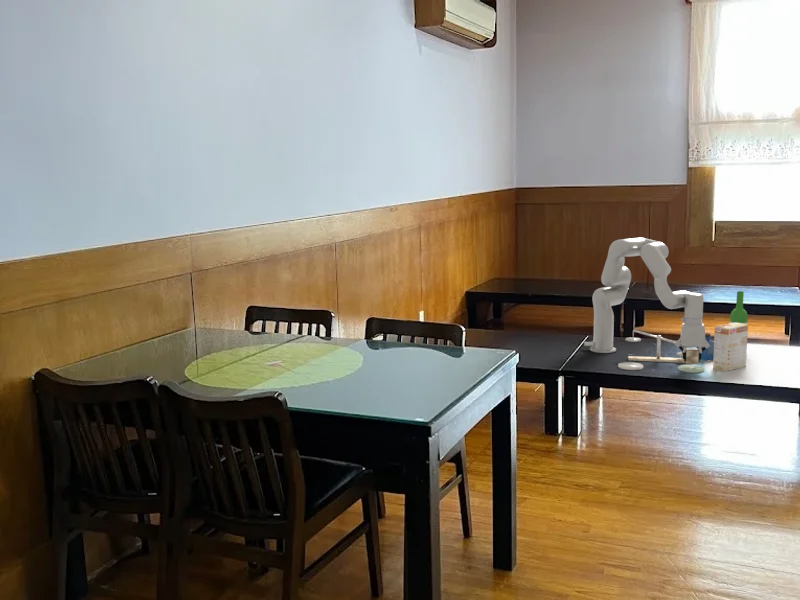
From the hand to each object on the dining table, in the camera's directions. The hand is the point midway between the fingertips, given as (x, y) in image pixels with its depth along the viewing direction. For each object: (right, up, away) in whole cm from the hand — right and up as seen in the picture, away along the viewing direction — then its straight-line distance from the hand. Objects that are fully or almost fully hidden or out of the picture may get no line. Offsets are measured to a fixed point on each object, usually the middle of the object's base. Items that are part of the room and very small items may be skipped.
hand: (691, 360), depth 356 cm
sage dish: (0, -4, +1) cm, 4 cm away
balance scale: (-9, -1, +18) cm, 20 cm away
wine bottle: (+33, +1, +31) cm, 46 cm away
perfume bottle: (+14, -1, +21) cm, 25 cm away
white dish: (-25, -4, +7) cm, 26 cm away
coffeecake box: (+18, -4, +3) cm, 19 cm away
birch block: (0, -1, 0) cm, 1 cm away
